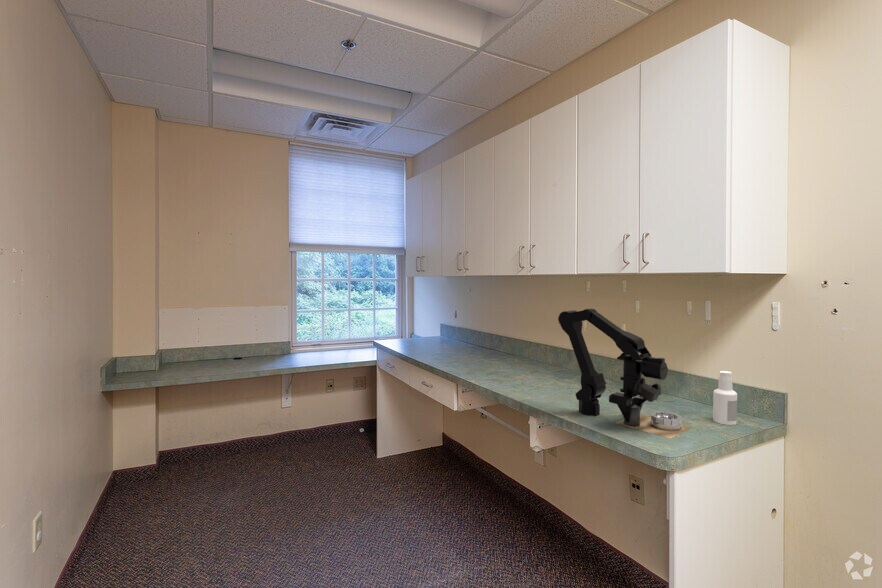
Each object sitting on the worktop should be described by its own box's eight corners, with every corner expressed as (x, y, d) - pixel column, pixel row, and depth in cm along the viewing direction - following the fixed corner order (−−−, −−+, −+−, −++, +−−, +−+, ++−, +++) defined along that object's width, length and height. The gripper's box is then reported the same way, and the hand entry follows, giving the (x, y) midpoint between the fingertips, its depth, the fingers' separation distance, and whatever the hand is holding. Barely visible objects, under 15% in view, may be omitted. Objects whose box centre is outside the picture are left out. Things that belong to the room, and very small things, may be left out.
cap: (620, 423, 147) (621, 405, 146) (628, 420, 150) (629, 402, 149) (635, 427, 143) (635, 409, 142) (642, 424, 146) (643, 406, 145)
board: (615, 425, 148) (615, 422, 148) (639, 416, 157) (639, 413, 157) (669, 441, 133) (670, 438, 133) (692, 430, 142) (692, 427, 142)
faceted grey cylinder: (645, 425, 145) (645, 415, 145) (659, 419, 150) (659, 409, 150) (673, 433, 138) (673, 422, 137) (687, 426, 143) (687, 416, 143)
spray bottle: (739, 428, 144) (740, 374, 143) (715, 426, 146) (716, 373, 145) (733, 422, 150) (734, 370, 149) (710, 419, 153) (711, 369, 152)
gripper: (641, 383, 133) (640, 433, 134) (670, 374, 145) (669, 420, 145) (608, 377, 142) (607, 423, 143) (638, 368, 153) (637, 412, 154)
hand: (631, 420), depth 146 cm, fingers closed on cap, 5 cm apart
